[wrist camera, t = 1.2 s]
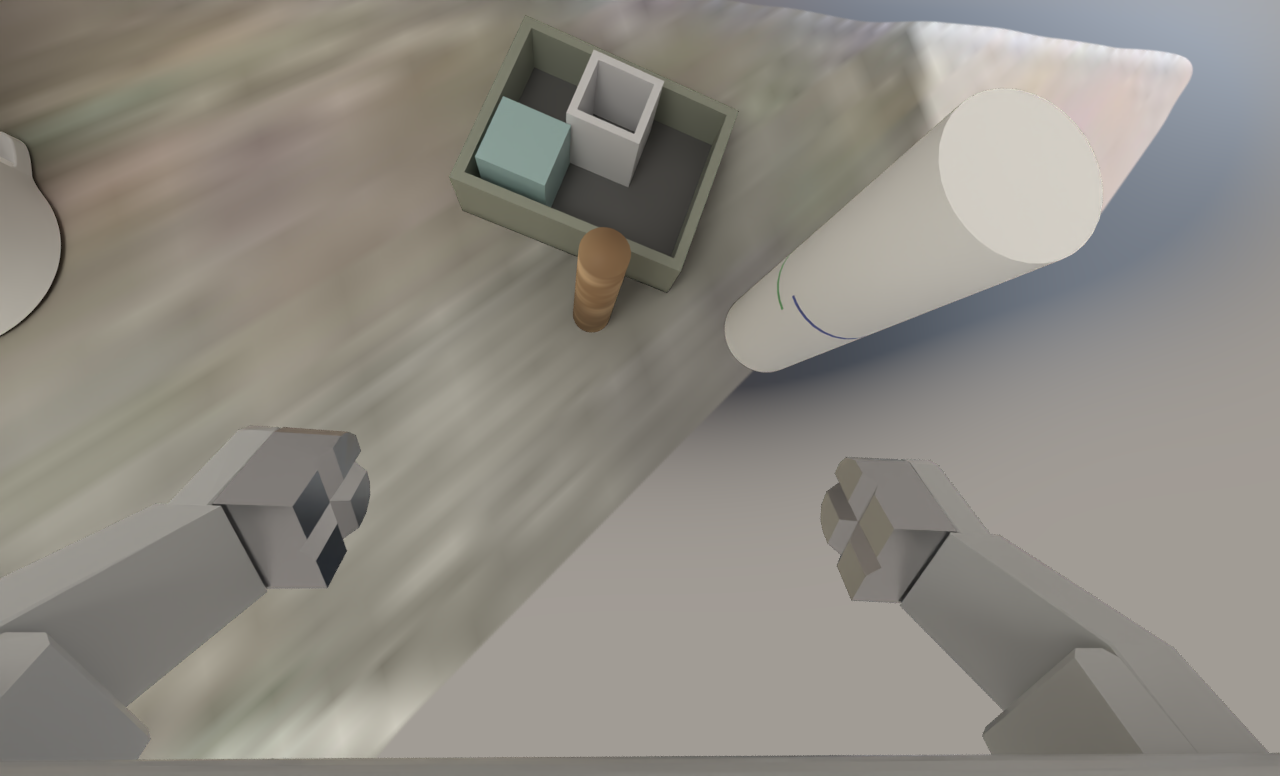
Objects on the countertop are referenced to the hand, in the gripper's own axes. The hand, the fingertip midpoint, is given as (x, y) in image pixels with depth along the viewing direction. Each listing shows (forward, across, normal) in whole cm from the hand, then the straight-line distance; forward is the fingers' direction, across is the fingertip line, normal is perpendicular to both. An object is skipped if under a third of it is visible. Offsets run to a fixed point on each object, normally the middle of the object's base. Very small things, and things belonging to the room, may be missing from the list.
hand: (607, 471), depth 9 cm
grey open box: (+40, +1, +4) cm, 40 cm away
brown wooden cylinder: (+31, +1, +13) cm, 34 cm away
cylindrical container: (+32, -14, +14) cm, 38 cm away
